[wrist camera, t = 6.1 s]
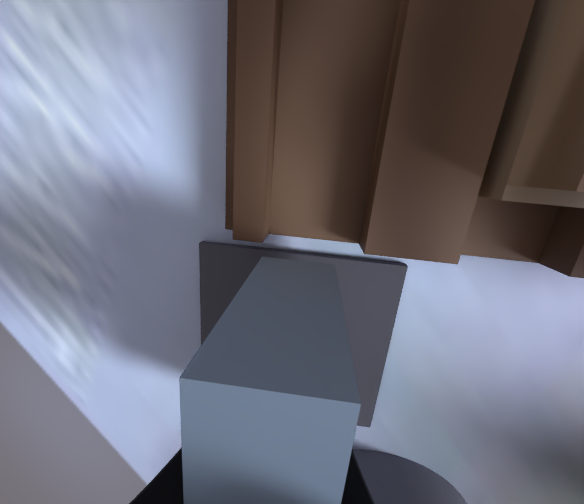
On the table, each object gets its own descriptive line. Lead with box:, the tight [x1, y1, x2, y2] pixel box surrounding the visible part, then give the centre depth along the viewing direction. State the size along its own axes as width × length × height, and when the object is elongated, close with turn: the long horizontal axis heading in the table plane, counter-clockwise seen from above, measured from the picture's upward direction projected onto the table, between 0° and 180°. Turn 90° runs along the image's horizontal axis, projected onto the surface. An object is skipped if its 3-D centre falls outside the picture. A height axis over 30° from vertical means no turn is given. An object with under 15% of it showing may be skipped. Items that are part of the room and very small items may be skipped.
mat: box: [199, 241, 408, 427], centre depth 15 cm, size 10×10×1 cm
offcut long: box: [478, 0, 584, 208], centre depth 8 cm, size 3×9×2 cm, turn 175°
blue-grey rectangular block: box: [179, 257, 361, 504], centre depth 9 cm, size 3×10×7 cm, turn 175°
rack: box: [225, 0, 584, 278], centre depth 9 cm, size 15×14×2 cm
